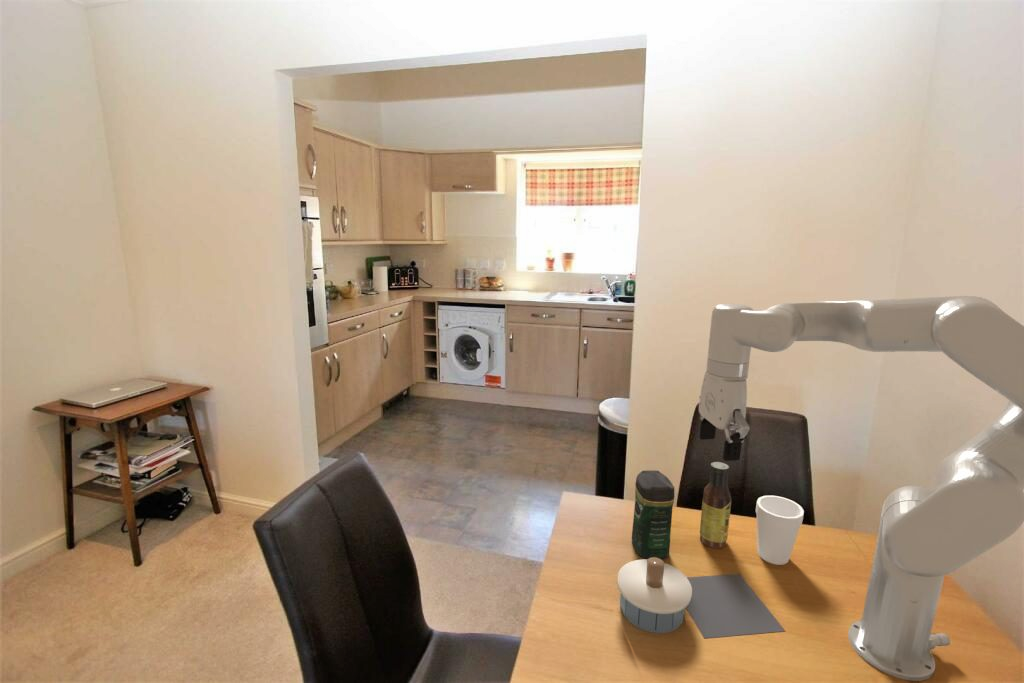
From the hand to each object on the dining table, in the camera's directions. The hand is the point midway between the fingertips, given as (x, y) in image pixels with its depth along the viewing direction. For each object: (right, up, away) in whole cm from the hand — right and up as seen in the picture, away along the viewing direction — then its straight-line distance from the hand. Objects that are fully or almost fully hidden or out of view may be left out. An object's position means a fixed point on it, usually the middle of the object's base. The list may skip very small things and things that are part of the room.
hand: (718, 448), depth 104 cm
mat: (+1, -31, -1) cm, 31 cm away
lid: (-14, -26, -4) cm, 30 cm away
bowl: (-14, -32, -2) cm, 35 cm away
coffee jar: (-9, -27, +17) cm, 33 cm away
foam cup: (+18, -28, +14) cm, 36 cm away
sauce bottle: (+7, -27, +20) cm, 34 cm away
